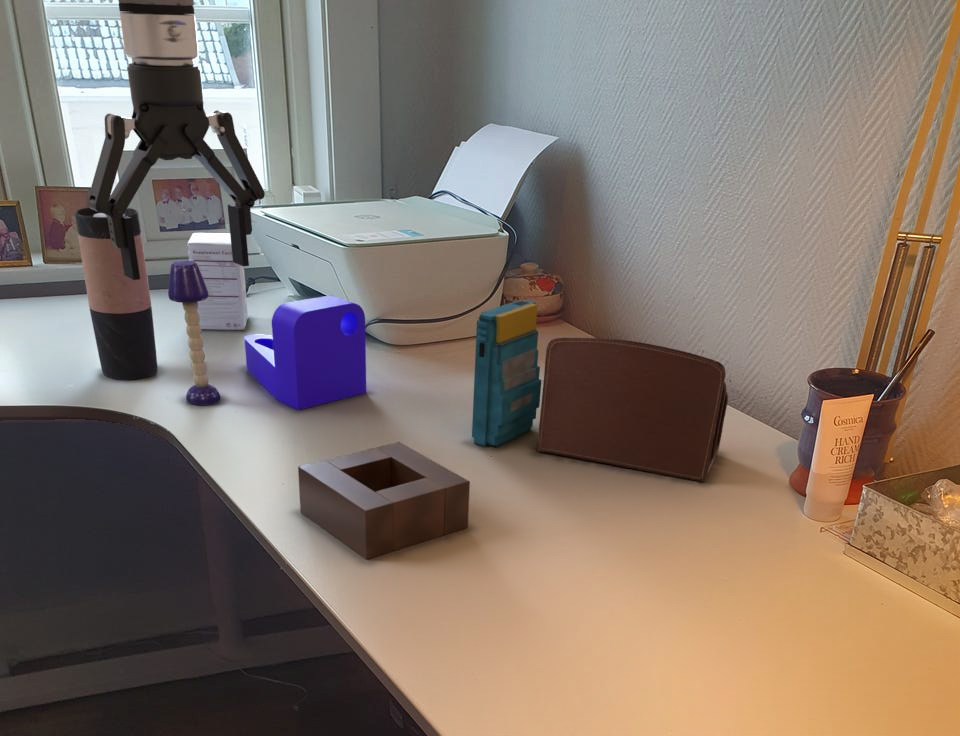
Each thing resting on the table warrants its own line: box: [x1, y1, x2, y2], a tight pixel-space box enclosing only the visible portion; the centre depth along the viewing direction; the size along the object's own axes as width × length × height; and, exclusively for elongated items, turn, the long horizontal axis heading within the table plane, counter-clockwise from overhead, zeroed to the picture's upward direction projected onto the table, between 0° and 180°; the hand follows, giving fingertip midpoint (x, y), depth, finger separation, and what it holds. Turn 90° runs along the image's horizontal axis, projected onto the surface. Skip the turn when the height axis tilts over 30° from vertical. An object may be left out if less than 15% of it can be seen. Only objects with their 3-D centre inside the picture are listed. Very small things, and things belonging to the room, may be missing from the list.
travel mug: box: [74, 207, 159, 381], centre depth 127 cm, size 8×8×20 cm
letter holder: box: [536, 337, 729, 483], centre depth 112 cm, size 10×20×14 cm, turn 70°
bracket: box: [243, 295, 367, 411], centre depth 128 cm, size 18×11×12 cm, turn 45°
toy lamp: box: [167, 259, 222, 406], centre depth 120 cm, size 5×5×17 cm
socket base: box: [297, 441, 471, 560], centre depth 97 cm, size 12×12×5 cm
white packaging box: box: [186, 232, 249, 331], centre depth 150 cm, size 7×7×13 cm
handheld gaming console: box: [471, 299, 542, 448], centre depth 115 cm, size 10×4×15 cm, turn 145°
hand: (188, 270), depth 116 cm, fingers open, 13 cm apart
